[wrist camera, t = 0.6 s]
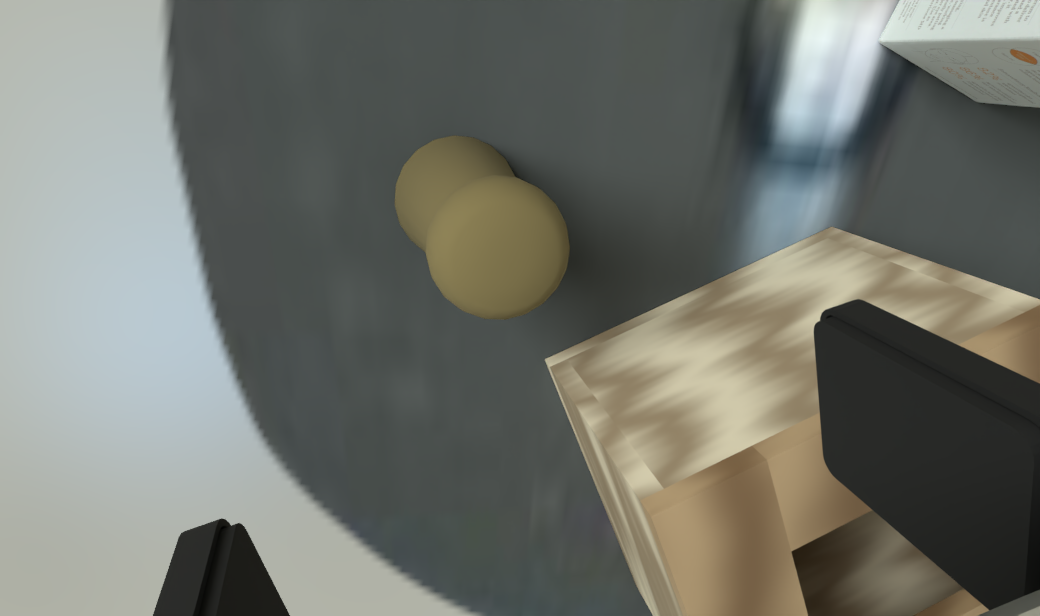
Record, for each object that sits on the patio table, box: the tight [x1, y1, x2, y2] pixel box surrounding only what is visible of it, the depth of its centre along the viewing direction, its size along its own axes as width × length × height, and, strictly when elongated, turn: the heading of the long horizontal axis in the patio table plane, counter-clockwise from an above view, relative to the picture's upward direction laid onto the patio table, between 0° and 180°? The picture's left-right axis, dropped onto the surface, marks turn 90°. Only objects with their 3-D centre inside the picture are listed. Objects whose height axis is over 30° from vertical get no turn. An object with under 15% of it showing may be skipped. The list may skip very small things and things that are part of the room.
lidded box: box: [545, 227, 1040, 616], centre depth 36 cm, size 18×18×14 cm
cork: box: [395, 136, 570, 319], centre depth 28 cm, size 6×6×11 cm
